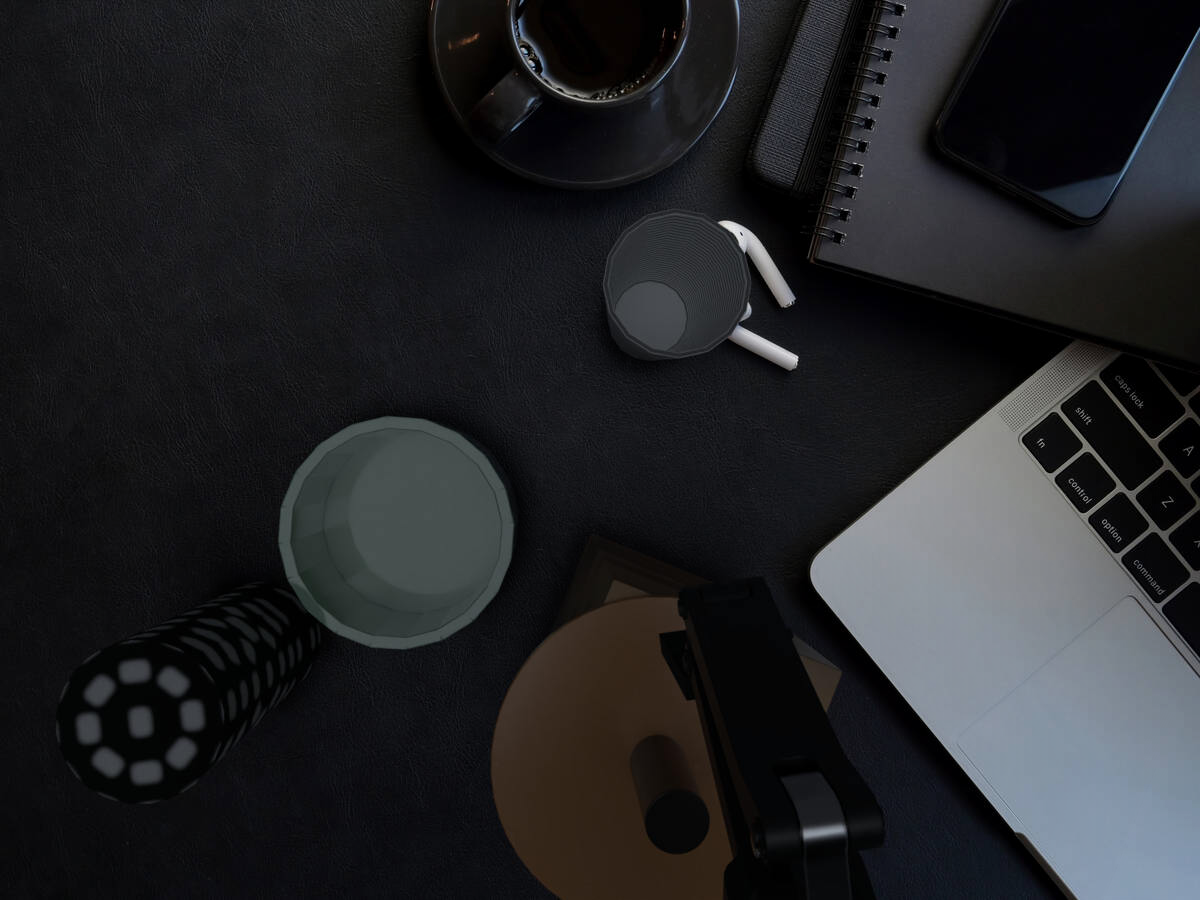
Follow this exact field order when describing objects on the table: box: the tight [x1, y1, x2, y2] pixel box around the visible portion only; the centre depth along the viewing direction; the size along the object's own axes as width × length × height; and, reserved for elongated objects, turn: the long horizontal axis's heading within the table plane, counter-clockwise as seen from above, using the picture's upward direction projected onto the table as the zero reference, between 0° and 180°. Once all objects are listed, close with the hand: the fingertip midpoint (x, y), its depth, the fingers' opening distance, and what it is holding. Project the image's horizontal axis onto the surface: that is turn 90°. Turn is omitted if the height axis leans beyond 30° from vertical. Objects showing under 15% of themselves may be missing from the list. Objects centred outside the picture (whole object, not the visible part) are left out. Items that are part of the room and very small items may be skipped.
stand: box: [548, 532, 844, 714], centre depth 56 cm, size 12×12×24 cm
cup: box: [602, 208, 752, 362], centre depth 61 cm, size 8×8×16 cm
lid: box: [490, 595, 733, 900], centre depth 41 cm, size 16×16×8 cm
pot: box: [277, 415, 520, 651], centre depth 63 cm, size 15×15×9 cm
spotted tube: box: [55, 581, 322, 805], centre depth 57 cm, size 8×8×20 cm
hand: (719, 815), depth 35 cm, fingers open, 13 cm apart
